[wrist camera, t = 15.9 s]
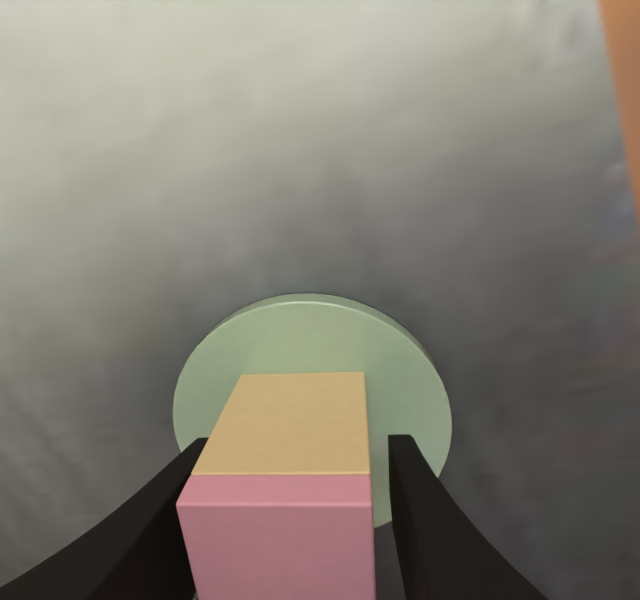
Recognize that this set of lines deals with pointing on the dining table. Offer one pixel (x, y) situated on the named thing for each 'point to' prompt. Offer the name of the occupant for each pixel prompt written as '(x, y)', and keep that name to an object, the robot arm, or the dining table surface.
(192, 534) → the cake slice
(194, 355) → the plate
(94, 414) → the dining table surface
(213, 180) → the dining table surface
